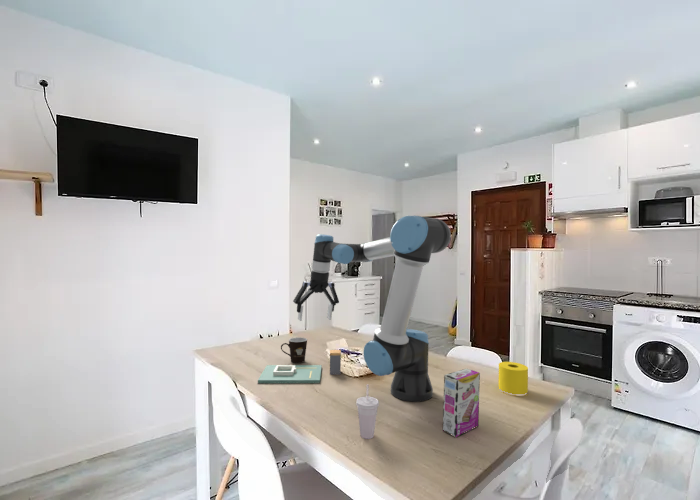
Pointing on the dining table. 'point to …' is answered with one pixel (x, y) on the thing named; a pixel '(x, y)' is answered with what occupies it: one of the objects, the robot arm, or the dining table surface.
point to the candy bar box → (461, 401)
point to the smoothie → (367, 415)
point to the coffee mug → (297, 349)
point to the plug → (335, 362)
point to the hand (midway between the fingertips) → (314, 319)
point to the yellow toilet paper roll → (513, 377)
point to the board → (291, 374)
